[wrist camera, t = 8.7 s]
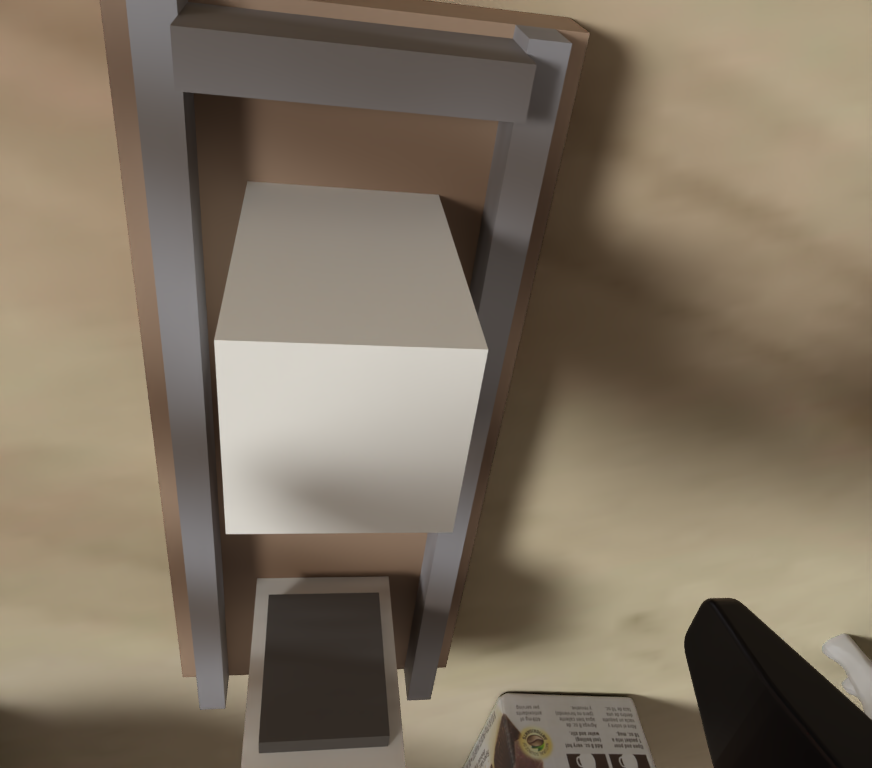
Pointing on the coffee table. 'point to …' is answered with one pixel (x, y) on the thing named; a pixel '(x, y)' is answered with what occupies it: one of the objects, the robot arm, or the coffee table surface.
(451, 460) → the off-white square prism
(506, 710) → the coffee box
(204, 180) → the rail
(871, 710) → the dog figurine
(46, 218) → the coffee table surface
